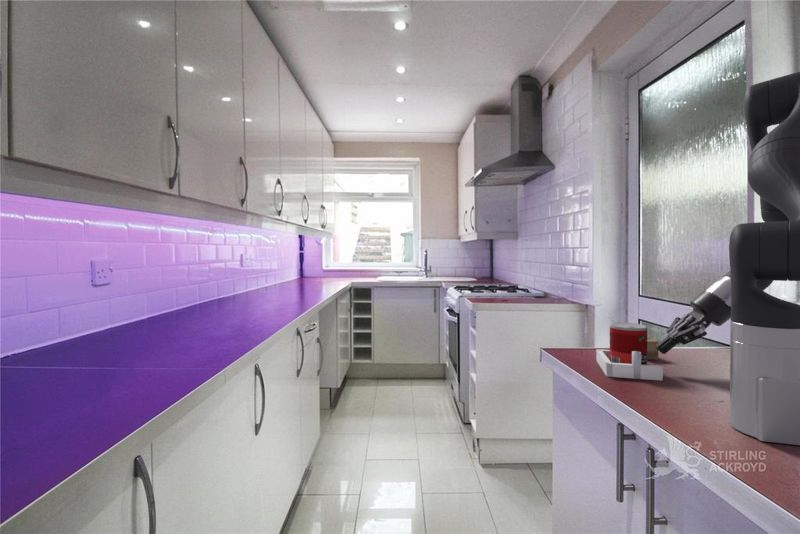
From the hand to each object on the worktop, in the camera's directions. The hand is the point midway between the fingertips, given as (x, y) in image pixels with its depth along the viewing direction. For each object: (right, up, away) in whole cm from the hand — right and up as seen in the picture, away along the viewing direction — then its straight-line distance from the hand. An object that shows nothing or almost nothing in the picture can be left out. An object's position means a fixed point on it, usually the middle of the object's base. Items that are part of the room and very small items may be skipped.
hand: (659, 350), depth 93 cm
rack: (-6, -5, +2) cm, 8 cm away
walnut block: (+5, -5, +13) cm, 15 cm away
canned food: (-6, -5, +2) cm, 8 cm away
